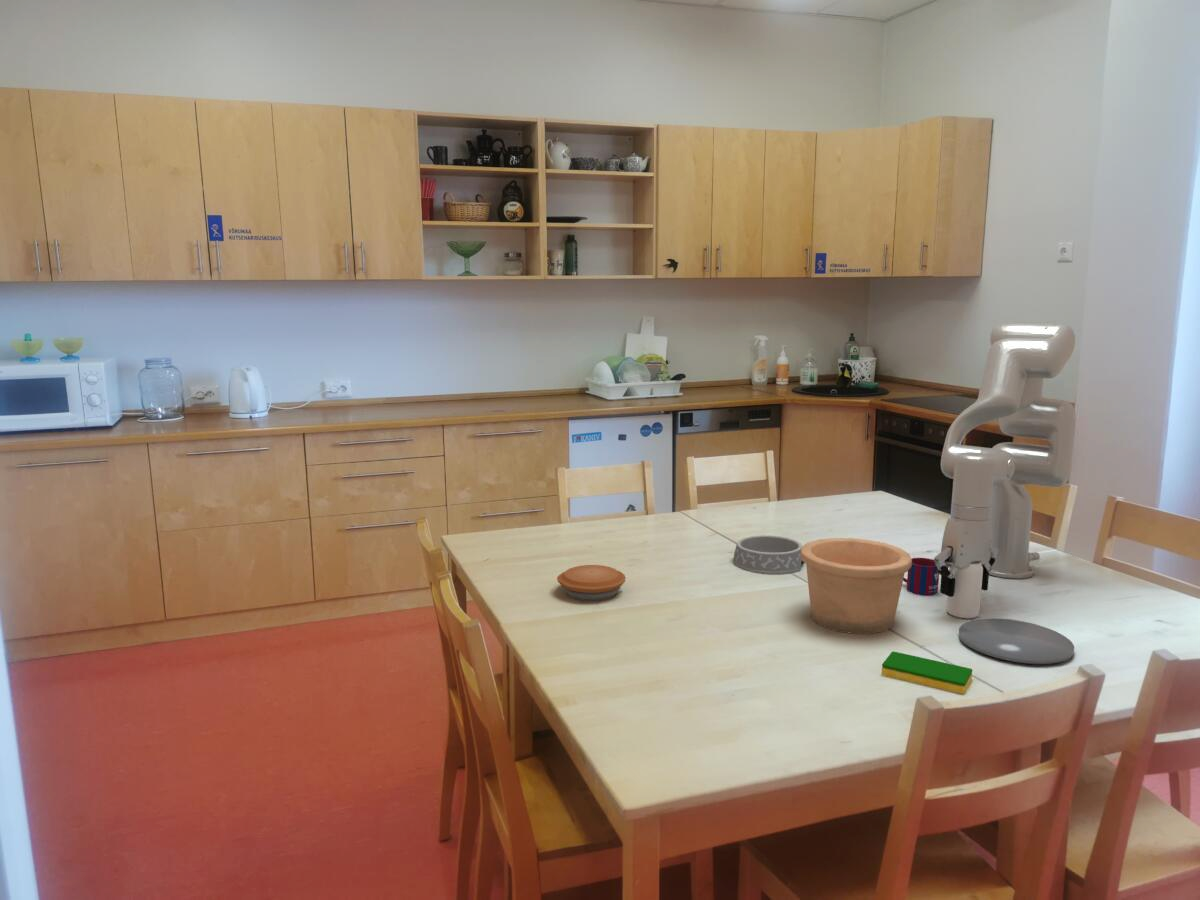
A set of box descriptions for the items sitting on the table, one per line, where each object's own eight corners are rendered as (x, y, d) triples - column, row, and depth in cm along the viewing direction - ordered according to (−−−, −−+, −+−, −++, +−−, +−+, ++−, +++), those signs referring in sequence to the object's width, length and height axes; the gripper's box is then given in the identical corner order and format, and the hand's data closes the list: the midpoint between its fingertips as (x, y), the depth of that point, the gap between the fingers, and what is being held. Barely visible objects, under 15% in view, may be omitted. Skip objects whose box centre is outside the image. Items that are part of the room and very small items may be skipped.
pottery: (850, 647, 164) (854, 576, 161) (776, 610, 183) (778, 545, 180) (930, 627, 174) (935, 559, 171) (852, 594, 193) (856, 532, 190)
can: (940, 608, 184) (944, 555, 182) (969, 607, 184) (973, 554, 182) (955, 620, 177) (959, 564, 175) (985, 619, 178) (989, 563, 176)
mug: (926, 597, 190) (928, 568, 189) (888, 585, 198) (889, 557, 197) (943, 591, 194) (946, 562, 193) (905, 580, 202) (907, 552, 201)
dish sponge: (963, 696, 145) (964, 683, 144) (880, 677, 152) (881, 664, 152) (971, 681, 151) (972, 668, 150) (891, 662, 158) (892, 650, 158)
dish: (1006, 618, 178) (1007, 612, 178) (1097, 654, 160) (1098, 647, 160) (935, 635, 170) (936, 628, 169) (1023, 675, 152) (1024, 667, 152)
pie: (636, 586, 198) (636, 566, 197) (608, 608, 184) (608, 586, 183) (576, 577, 204) (576, 557, 204) (545, 598, 191) (545, 577, 190)
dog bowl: (726, 570, 210) (727, 549, 209) (743, 550, 227) (743, 530, 226) (797, 579, 204) (797, 557, 203) (808, 557, 220) (809, 537, 219)
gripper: (985, 504, 184) (978, 581, 187) (925, 512, 176) (919, 591, 179) (1015, 512, 177) (1007, 591, 180) (954, 520, 170) (947, 603, 173)
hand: (963, 591), depth 180 cm, fingers open, 9 cm apart
